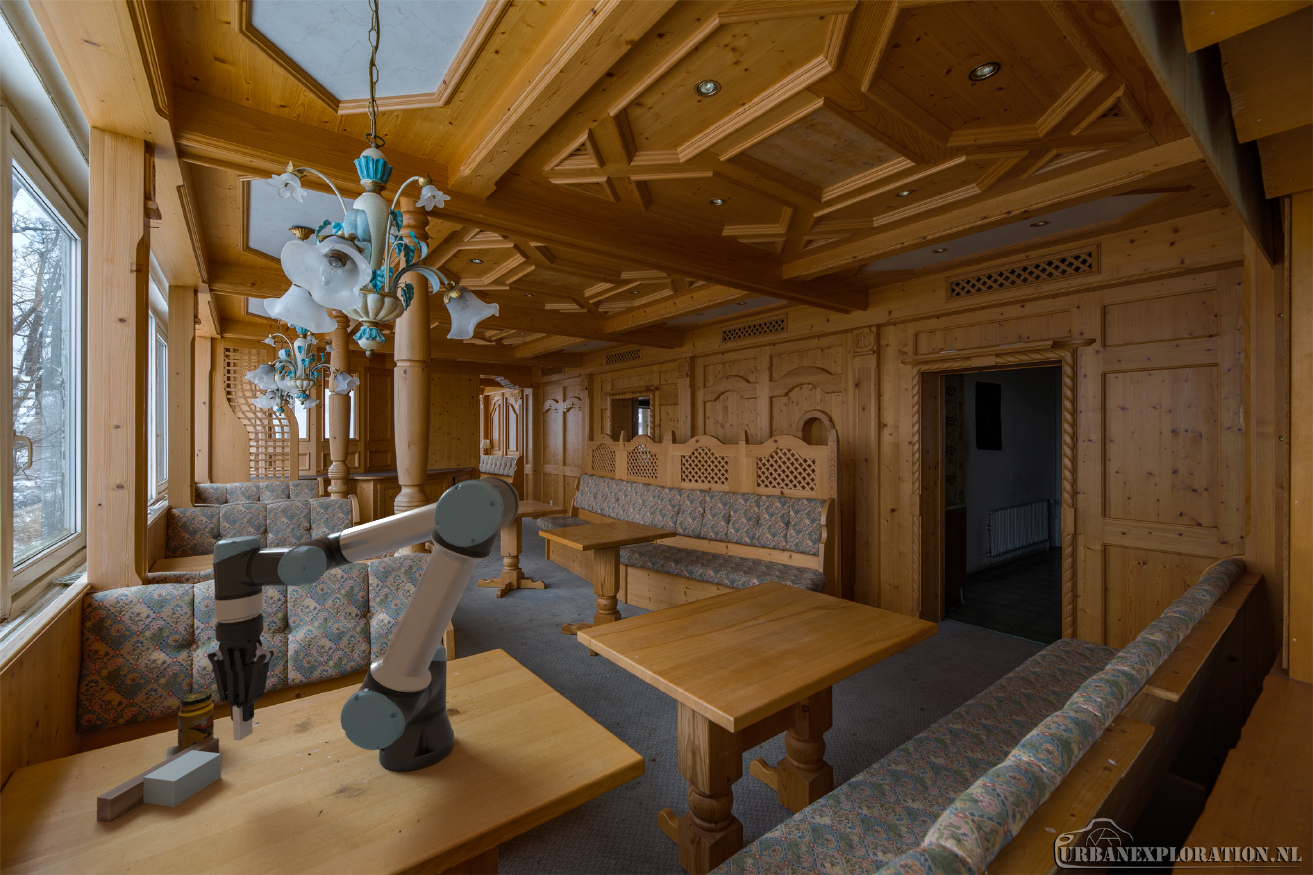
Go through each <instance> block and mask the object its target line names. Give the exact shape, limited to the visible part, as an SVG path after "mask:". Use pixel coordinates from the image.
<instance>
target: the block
mask: <svg viewBox="0 0 1313 875" xmlns="http://www.w3.org/2000/svg"><path fill="white" fill-rule="evenodd" d="M221 771H222V753H220V752H219V753H211V752H203V751H195V750H192V751H190V752H188V753H186V754H184V755H183V756H181V757H179V758H177V759H175V760H174V761H172V762H170V763H168V764H166V765H165V766H163V767H161V768H159V769H157V770H156V771H154V772H152V773H150V774H148V775H147V776H145V777H144V778H143V802H144V803H145V804H150V805H151V804H152V805H156V804H157V806H158V805H159V806H165V807H171V808H176V807H177V806H178V805H180V804H181V803H183V802H184V801H186V800H188V799H189V798H191V797H193V796H195V795H196V794H197V793H199V792H200V791H202V790H203V789H205V788H207V787H208V786H209V785H211V784H213V783H215V782H216V781H218V780H219V779H221V778H222V772H221Z"/></svg>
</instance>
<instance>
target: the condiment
mask: <svg viewBox="0 0 1313 875" xmlns="http://www.w3.org/2000/svg"><path fill="white" fill-rule="evenodd" d="M212 696H213V695H212V692H211V691H209V690H201V691H195V692H191V693H188V694H186V695H185V696H183V697H182V698H181V700H180V705H179V706H180V707H179V709H180V710H179V711H178V713H177V745H172V746H169V747H168V748H167V751H166V753H165V756H167V757H165V756H164V758H163V760H162V762H163V761H165V760H166V759H168V758H170V757H172V756H174V755H176V754H177V753H179V752H181V751H183V750H185V749H187V748H189V747H190V746H192V745H194V744H196V743H198V742H200V741H201V740H203V739H205V738H207V737H210V738H218V736H215V735H214V734H215V733H214V731H215V730H214V726H215V725H214V723H215V722H214V721H215V720H214V718H215V714H214V712H215V705H214V703H213V699H212Z"/></svg>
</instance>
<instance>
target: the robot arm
mask: <svg viewBox="0 0 1313 875" xmlns="http://www.w3.org/2000/svg"><path fill="white" fill-rule="evenodd" d="M519 509H520V497H519V494H518V491H517V489H515V487H514V486H513V485H512V483H510V481H508V480H505V478H504V479H503V478H501V477H497V476H487V477H482V478H478V479H467V480H464V481H461V482H457V484H455V485H453V486H451V487H450V488H448V489H447V490H446V491H444V493H443V494H442V495H440V498H439V499H438V501H436V502H434V503H430V504H427V505H424V506H419V507H416V508H413V509H410V510H407V511H403V512H400V513H399V512H398V513H396V514H393V515H389V516H386V517H382V518H380V519H377V520H374V521H370V522H366V523H363V524H361V525H356V526H352V527H350V528H347V529H344V530H340V531H336V532H333V533H329V534H326V535H323V536H319V537H316V538H313V539H308V540H306V541H301V542H298V543H295V544H292V545H287V546H272V547H266V546H263V543H262V538H260V537H259V536H253V535H252V536H247V535H246V536H238V537H237V536H236V537H229V538H224V539H221V540H218V541H217V542H216V543H215V544H214V547H213V556H212V557H213V559H212V572H213V580H214V581H213V582H214V584H213V585H214V619H215V620H217V621H216V622H215V624H214V626H215V627H214V631H215V640H216V642H219V644H218V648H217V649H216V650H214V651H212V652H210V653H208V654H207V655H206V656H207V659H208V661H209V662H210V664H211V667H212V670H213V675H214V680H215V684H216V687H217V692H218V696H219V701H220V702H222V703H224V702H226V703H227V704H228V705H229V706H230V719H231V720H230V721H231V722H232V728H233V729H232V731H233V734H232V735H233V741H242V740H243V739H245V738H247V737H248V736H250V735H252V734H253V732H254V731H253V730H254V729H253V719H254V717H255V702H256V701H258V700H261V699H262V698H264V695H265V690H266V689H265V688H266V684H267V680H268V673H269V668H270V663H271V661H272V659H273V657H274V655H275V652H274V651H273V650H271V649H270V650H266V649H265V648H264V647H263V642H262V639H261V635H262V634H263V631H264V614H263V613H261V612H263V610H264V607H263V606H264V605H263V587H277V586H278V587H280V586H281V587H284V586H288V587H301V586H303V585H304V586H305V585H313V584H315V583H317V582H318V581H320V578H321V577H323V576H324V574H325V573H326V572H329V571H331V570H335V569H337V568H340V567H344V566H348V565H351V564H354V563H356V562H360V561H364V560H367V559H370V558H374V557H376V556H380V555H384V554H387V553H391V552H393V551H397V550H401V549H404V548H408V547H411V546H414V545H415V546H416V545H417V544H418V545H419V544H421V543H425V542H427V541H428V542H429V541H432V543H433V545H434V546H433V550H432V552H431V553H430V556H429V558H428V560H427V562H426V564H425V566H424V569H423V571H422V573H421V575H420V578H419V580H418V582H417V584H416V585H415V587H414V590H413V593H412V595H411V596H410V599H409V601H408V603H407V606H406V607H405V610H404V612H403V615H402V616H401V618H400V620H399V623H398V625H397V627H396V629H395V632H394V634H393V636H392V638H391V641H390V643H389V644H388V647H387V649H386V650H385V653H384V654H383V655H381V656H379V657H376V658H375V659H374V660H373V661H372V663H371V664H370V666H369V668H368V671H367V673H366V675H365V677H364V679H363V682H362V684H361V686H360V687H359V689H358V690H357V691H355V692H354V693H353V694H351V695H350V696H349V698H348V699H347V700H346V701H345V703H344V704H343V706H342V709H341V712H340V725H341V729H342V730H343V731H344V732H345V733H344V735H345V737H346V738H347V739H348V740H349V742H351V743H352V744H354V745H355V746H357V747H358V748H361V749H364V750H367V751H368V750H369V751H378V761H379V764H380V765H381V766H382V767H383V768H384V769H387V770H390V771H395V772H397V771H398V772H406V771H414V770H420V769H423V768H427V767H429V766H431V765H434V764H436V763H438V762H440V761H441V760H443V759H445V758H446V757H447V756H448V755H450V753H451V752H452V750H453V749H454V747H455V746H454V745H455V733H454V729H453V727H452V724H451V721H450V719H449V716H448V712H447V670H448V667H447V664H448V663H447V662H448V658H447V649H446V647H445V646H444V645H443V644H441V641H442V640H443V637H444V635H445V633H446V630H447V628H448V626H449V624H450V622H451V620H452V618H453V616H454V614H455V611H456V608H457V607H458V605H459V603H460V600H461V598H462V596H463V594H464V592H465V589H466V587H467V585H468V583H469V581H470V579H471V577H472V575H473V572H474V570H475V567H476V566H477V563H478V562H481V561H483V560H486V559H488V558H489V556H490V554H491V552H492V550H493V547H494V546H495V544H496V541H497V539H498V536H499V534H500V532H501V531H503V530H505V529H506V528H508V527H509V526H510V525H511V524H512V523H513V522H514V521H515V519H516V517H517V515H518V513H519Z"/></svg>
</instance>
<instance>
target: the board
mask: <svg viewBox="0 0 1313 875" xmlns="http://www.w3.org/2000/svg"><path fill="white" fill-rule="evenodd" d="M192 750H195V751H203V752H211V753H219V754H220V738H218V737H217V738H210V737H207V738H205V739H203V740H201V741H200V742H198V743H196V744H194V745H192V746H190V747H189V748H187V749H185V750H183V751H181V752H179V753H177V754H176V755H174V756H172V757H170V758H168V759H166V760H165V761H163V760H162V761H161V762H159V763H157V764H156V765H154V766H152V767H150V768H148V769H147V770H144V771H142V772H141V773H139V774H137V775H135V776H133V777H132V778H130V779H128V780H126V781H124V782H122V783H120V784H119V785H117V786H115V787H113V788H111V789H110V790H108V791H105V792H104V793H102V794H100V795H99V796H97V797H96V820H98V821H104V822H110V823H111V822H112V821H114V820H116V819H117V818H119V817H120V816H123V814H126V813H127V812H129V811H131V810H132V809H134V808H136V807H137V806H139V805H141V804H143V778H144V777H145V776H147V775H148V774H150V773H152V772H154V771H156V770H157V769H159V768H161V767H163V766H165V765H166V764H168V763H170V762H172V761H174V760H175V759H177V758H179V757H181V756H183V755H184V754H186V753H188V752H190V751H192Z"/></svg>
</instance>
